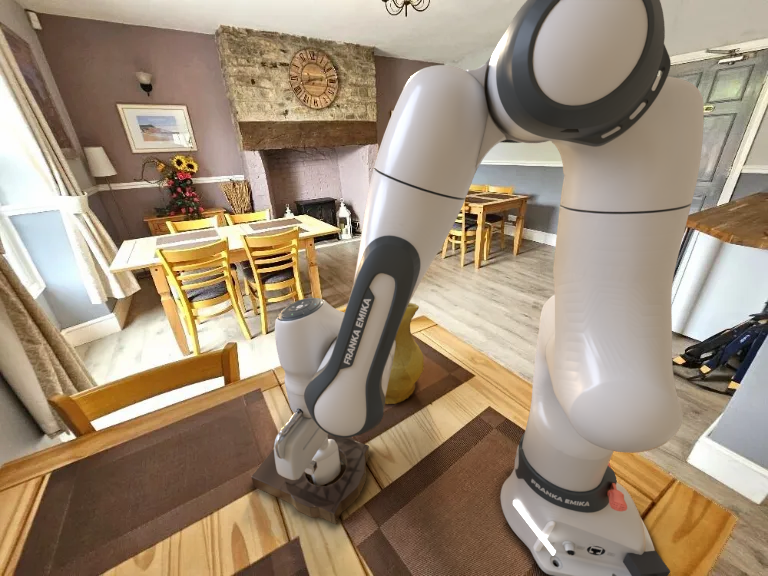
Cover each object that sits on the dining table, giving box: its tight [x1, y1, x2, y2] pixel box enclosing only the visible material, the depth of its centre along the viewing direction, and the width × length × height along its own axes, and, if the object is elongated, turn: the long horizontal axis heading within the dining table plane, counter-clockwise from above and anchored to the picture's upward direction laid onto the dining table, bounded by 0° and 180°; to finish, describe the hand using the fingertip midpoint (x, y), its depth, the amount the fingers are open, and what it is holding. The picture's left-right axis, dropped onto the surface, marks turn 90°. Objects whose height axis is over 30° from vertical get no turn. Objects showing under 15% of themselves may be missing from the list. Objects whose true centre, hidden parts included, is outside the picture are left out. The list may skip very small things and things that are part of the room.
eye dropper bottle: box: [310, 436, 342, 486], centre depth 59 cm, size 4×6×12 cm
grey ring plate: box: [250, 434, 370, 525], centre depth 61 cm, size 20×15×3 cm
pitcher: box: [385, 302, 425, 405], centre depth 79 cm, size 17×19×25 cm
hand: (325, 447), depth 58 cm, fingers open, 8 cm apart
